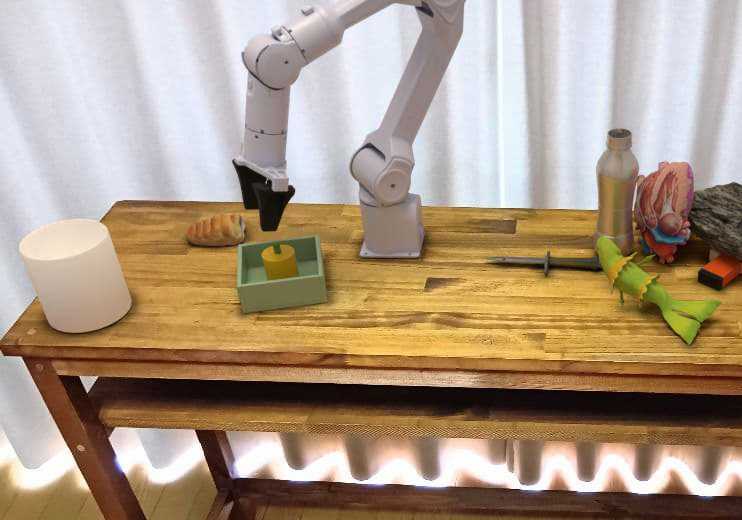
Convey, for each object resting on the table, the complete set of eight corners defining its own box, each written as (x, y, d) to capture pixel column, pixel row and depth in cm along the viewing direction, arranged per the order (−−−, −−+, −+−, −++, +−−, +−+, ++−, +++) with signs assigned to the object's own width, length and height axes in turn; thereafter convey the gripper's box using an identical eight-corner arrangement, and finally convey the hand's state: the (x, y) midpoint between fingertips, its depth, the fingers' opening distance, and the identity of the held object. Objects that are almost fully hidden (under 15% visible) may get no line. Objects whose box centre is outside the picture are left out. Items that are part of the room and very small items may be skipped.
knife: (484, 257, 143) (479, 274, 139) (484, 245, 141) (479, 262, 137) (603, 262, 140) (602, 279, 136) (604, 250, 139) (602, 268, 135)
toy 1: (582, 244, 128) (574, 290, 133) (700, 305, 119) (687, 351, 124) (615, 226, 133) (606, 270, 138) (730, 283, 124) (717, 328, 129)
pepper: (303, 274, 138) (295, 234, 134) (296, 291, 135) (288, 251, 130) (272, 273, 139) (264, 234, 134) (264, 291, 135) (255, 251, 131)
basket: (323, 260, 143) (318, 234, 140) (327, 302, 133) (323, 275, 130) (244, 270, 141) (238, 244, 138) (243, 313, 131) (236, 286, 129)
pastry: (186, 252, 145) (180, 231, 143) (188, 232, 150) (182, 211, 148) (246, 244, 147) (241, 223, 144) (246, 225, 152) (241, 204, 150)
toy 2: (728, 300, 133) (784, 254, 140) (730, 279, 130) (787, 234, 138) (686, 281, 137) (743, 237, 144) (688, 261, 135) (745, 217, 142)
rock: (736, 200, 145) (733, 167, 141) (801, 240, 133) (799, 204, 130) (674, 232, 143) (669, 198, 139) (734, 274, 131) (731, 239, 127)
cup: (36, 309, 133) (6, 238, 126) (112, 280, 139) (88, 210, 132) (65, 343, 126) (35, 269, 119) (145, 311, 132) (121, 239, 125)
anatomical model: (646, 165, 142) (632, 261, 144) (627, 158, 138) (613, 257, 139) (708, 167, 135) (692, 267, 137) (690, 160, 131) (674, 263, 133)
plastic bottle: (639, 247, 143) (648, 127, 131) (625, 268, 139) (633, 146, 126) (600, 240, 145) (606, 120, 133) (585, 260, 141) (590, 139, 128)
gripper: (221, 109, 127) (217, 200, 134) (254, 145, 117) (248, 241, 124) (270, 111, 131) (264, 199, 138) (306, 146, 121) (298, 239, 128)
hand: (260, 219), depth 131 cm, fingers open, 7 cm apart
